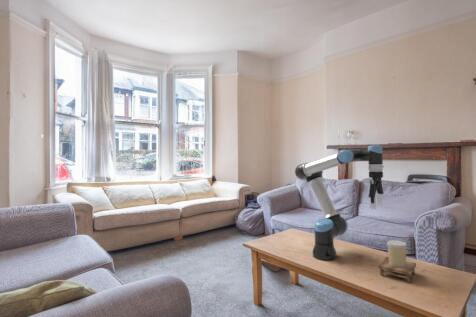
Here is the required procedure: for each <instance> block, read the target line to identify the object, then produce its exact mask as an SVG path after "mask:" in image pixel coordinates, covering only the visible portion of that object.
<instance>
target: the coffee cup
mask: <svg viewBox="0 0 476 317" xmlns="http://www.w3.org/2000/svg"><path fill="white" fill-rule="evenodd" d="M386 245H387V255H388V256H387V257H389V264H390V265H392V266H395V267H405V265H406V261H407V247H408V244H407V243H406V242H404V241H401V240H397V239H392V240H391V239H390V240H387V242H386Z"/></svg>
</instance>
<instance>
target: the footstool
mask: <svg viewBox="0 0 476 317" xmlns="http://www.w3.org/2000/svg"><path fill="white" fill-rule="evenodd" d="M416 266H417V262H413V261H408V260H406V265H405V267H395V266H392V265H390V264H389V257H388V256H385V257H383V259H382V260H381V261H380V263H379V264H378V269H379V273H380V274H379V275H380V276H381V277H383V276H384V275H385V274H387V275H391V276H395V277H399V278H403V279H406V283H408V284H409V283H411V277H412V275H414V274H415V271H416V268H417V267H416Z"/></svg>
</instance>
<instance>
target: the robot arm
mask: <svg viewBox="0 0 476 317" xmlns="http://www.w3.org/2000/svg"><path fill="white" fill-rule="evenodd" d="M383 153H384V152H383V146H382V145H379V144H378V145H377V144H376V145H368V147H367V148H353V149H352V148H351V149H342V150H339V152H337V153H334V154H331V155H328V156H325V157H322V158H320V159H317V160H314V161H312V162H309V163H308V162H305V163H301V164H300V163H299V164H298V165H297V166H296V167H295V169H294V174H295V176H296V178H298V180H300V181H304V180H306V183H307V184H308V185H310V186H311V190H312V192H313V193H314V195H315V198H316V200H317V202H318V205H319V208H320V209H321V212H322V214H323V218H319V219H317V220H315V221H314V225H313V226H314V227H313V228H314V246H313V249H312V257H314V258H315V259H317V260H321V261H333V260H336V259H337V257H338V256H337V255H338V254H337V250H336V248H335V245H334V238H336V237H339V236H343V235H344V234H345V233H346V232H347V230H348V225H349V224H348V222H347V220H346V219H345V218H344V217H343V216H341V214H340V213H339V212H337V211H336V208H335V207H334V204H333V202H332V199H331V197H330V195H329V193H328V191H327V188H326V187H325V185H324V182H323V179H324V177H323V173H324V171H325V170H329V169H332V168H336V167H338V166H341V165H346V164H348V163H356V162H368V178H370V179H371V180H369V184H370V185H369V192H368V193H369V194H368V198H369V200H370V205H369V207H370V209H372V210H373V209H374V210H376V209H377V205H380V206H382V205H383V195H384V193H385V192H384V188H383V185H382V184H383V183H382V178H383V177H384V172H383V170H384V167H385V166H384V165H383V162H384V161H383V160H384V159H383V156H384V155H383Z"/></svg>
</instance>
